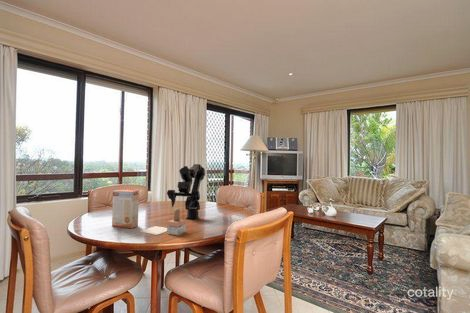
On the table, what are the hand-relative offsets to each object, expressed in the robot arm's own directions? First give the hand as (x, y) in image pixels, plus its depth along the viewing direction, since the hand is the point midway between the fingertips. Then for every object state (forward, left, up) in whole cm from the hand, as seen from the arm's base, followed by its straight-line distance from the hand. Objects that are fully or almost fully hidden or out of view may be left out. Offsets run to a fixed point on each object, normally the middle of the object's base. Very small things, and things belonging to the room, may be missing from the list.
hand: (180, 206), depth 141 cm
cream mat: (-10, -8, -13) cm, 18 cm away
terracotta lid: (+2, -6, -8) cm, 10 cm away
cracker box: (-32, -9, -13) cm, 36 cm away
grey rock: (+2, -6, -13) cm, 14 cm away
